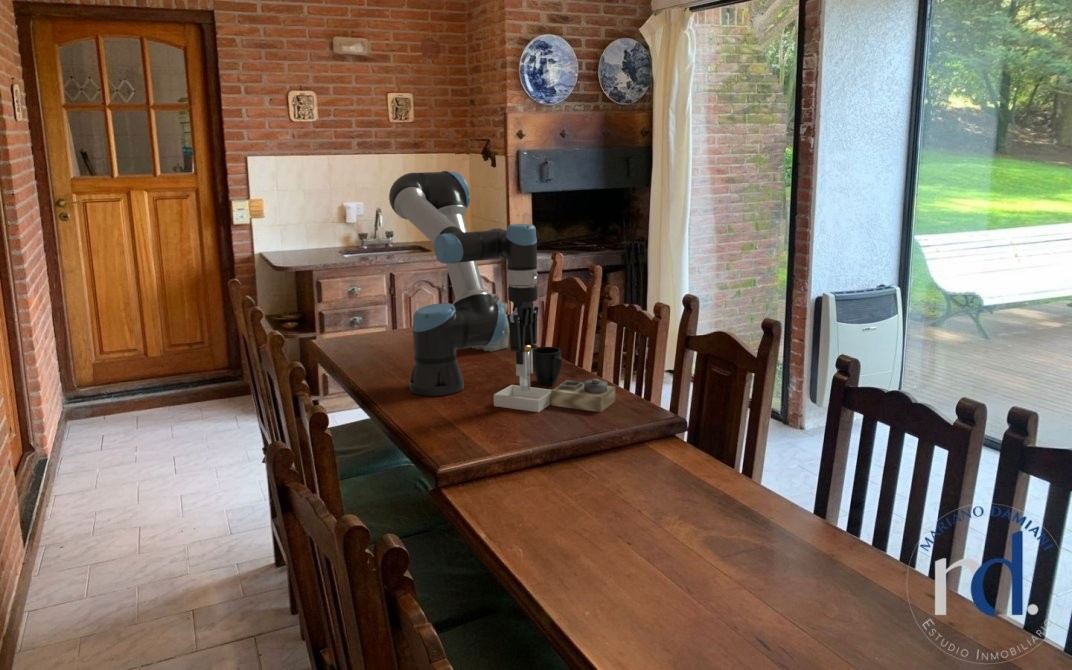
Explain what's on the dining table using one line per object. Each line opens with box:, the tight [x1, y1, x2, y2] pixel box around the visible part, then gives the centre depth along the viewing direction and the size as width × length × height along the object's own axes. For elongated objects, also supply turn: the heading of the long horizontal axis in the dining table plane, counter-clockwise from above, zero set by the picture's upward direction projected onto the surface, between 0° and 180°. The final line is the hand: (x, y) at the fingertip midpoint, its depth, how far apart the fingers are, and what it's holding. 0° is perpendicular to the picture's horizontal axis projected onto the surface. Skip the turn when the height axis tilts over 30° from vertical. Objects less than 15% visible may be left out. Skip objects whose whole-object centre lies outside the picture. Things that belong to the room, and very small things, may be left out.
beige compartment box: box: [550, 378, 616, 413], centre depth 225 cm, size 14×10×7 cm
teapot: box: [471, 292, 510, 352], centre depth 286 cm, size 16×15×19 cm
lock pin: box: [518, 344, 531, 391], centre depth 224 cm, size 4×4×12 cm
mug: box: [532, 346, 563, 386], centre depth 243 cm, size 8×12×10 cm
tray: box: [493, 384, 552, 413], centre depth 226 cm, size 13×10×3 cm
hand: (524, 374), depth 224 cm, fingers closed on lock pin, 3 cm apart
